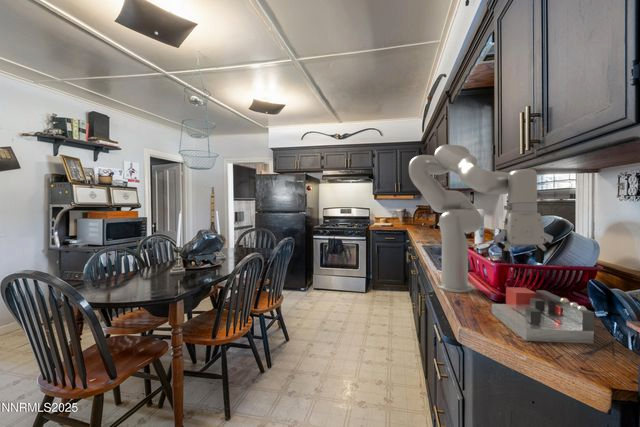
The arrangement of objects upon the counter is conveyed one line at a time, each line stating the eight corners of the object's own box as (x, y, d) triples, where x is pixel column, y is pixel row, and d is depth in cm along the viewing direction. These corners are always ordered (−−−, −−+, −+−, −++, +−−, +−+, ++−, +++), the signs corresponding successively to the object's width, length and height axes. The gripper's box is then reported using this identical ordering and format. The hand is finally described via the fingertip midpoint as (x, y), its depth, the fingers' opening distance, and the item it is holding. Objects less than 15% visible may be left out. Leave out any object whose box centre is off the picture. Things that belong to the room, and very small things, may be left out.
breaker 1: (530, 308, 84) (530, 298, 84) (539, 308, 84) (539, 298, 84) (535, 311, 82) (535, 300, 82) (544, 311, 82) (544, 301, 82)
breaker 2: (525, 319, 77) (525, 308, 76) (535, 319, 76) (535, 308, 76) (530, 323, 74) (530, 311, 74) (540, 323, 74) (541, 311, 74)
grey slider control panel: (491, 313, 89) (491, 286, 89) (544, 315, 88) (544, 287, 87) (526, 340, 71) (526, 307, 71) (593, 343, 70) (594, 308, 69)
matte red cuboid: (505, 305, 96) (506, 287, 96) (525, 305, 96) (525, 287, 95) (515, 311, 90) (516, 292, 90) (536, 312, 90) (537, 293, 89)
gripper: (499, 209, 89) (499, 265, 89) (560, 208, 87) (560, 265, 87) (487, 209, 97) (488, 260, 97) (544, 208, 95) (544, 260, 95)
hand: (522, 262), depth 92 cm, fingers open, 9 cm apart
